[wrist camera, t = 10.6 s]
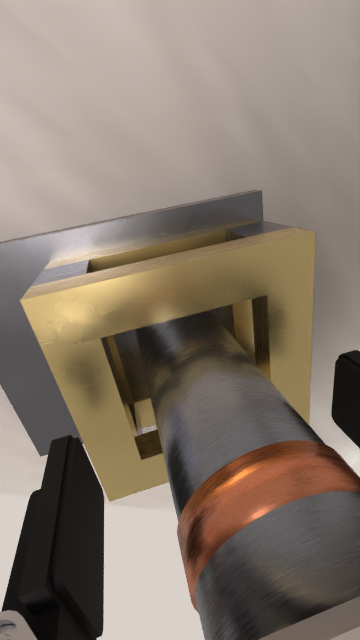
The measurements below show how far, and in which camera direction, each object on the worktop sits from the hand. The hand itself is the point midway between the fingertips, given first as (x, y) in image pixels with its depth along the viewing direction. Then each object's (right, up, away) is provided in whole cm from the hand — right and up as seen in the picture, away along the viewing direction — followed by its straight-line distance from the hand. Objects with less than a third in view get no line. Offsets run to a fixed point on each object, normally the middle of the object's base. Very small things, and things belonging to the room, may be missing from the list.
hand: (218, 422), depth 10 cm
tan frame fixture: (-4, +3, +8) cm, 9 cm away
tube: (-2, +3, +7) cm, 8 cm away
